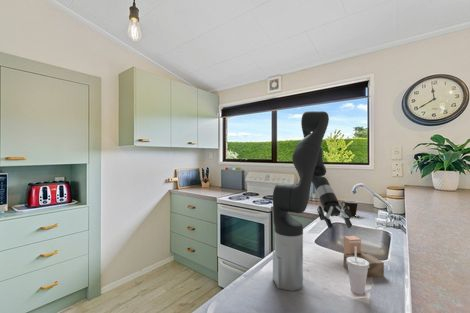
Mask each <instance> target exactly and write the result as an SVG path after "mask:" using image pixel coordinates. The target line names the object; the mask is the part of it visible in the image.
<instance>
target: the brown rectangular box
mask: <svg viewBox="0 0 470 313" xmlns="http://www.w3.org/2000/svg"><path fill="white" fill-rule="evenodd" d="M348 257H355V254H354V253H353V254H344V253H343V268H345V269H346V270H347V271H348V264H347V262H346V261H347V260H346V259H347V258H348ZM357 257H359V258H362V259H365V260H366V261H368V262H369V268H368V272H367V278H374V277H375V278H376V277H384V276H385V274H384V273H385V262H383V261H382V260H380V259H379V258H376V257H375V256H374V255H372V254H370V253H368V252H363V253H358V254H357Z"/></svg>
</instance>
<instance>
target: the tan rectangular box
mask: <svg viewBox="0 0 470 313" xmlns="http://www.w3.org/2000/svg"><path fill="white" fill-rule="evenodd" d="M355 246H356V247H357V254H358V253H361V252H362V248H361V247H362V240H361V238H360V237H358V236H355V235H344V236H343V255H344V254H353V253H354V254H355Z"/></svg>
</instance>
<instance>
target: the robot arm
mask: <svg viewBox="0 0 470 313" xmlns="http://www.w3.org/2000/svg"><path fill="white" fill-rule="evenodd" d="M329 117H330V116H329V113H328V112H326V111H323V110H307V111H303V114H302V115H301V120H300V121H301V122H300V124H301V131H302V135H303V138H302V139H300V140H299V142H298V143H297V144H296V146H295V149H294V151H293V154H292V158H291V159H292V164H293V166H294V168H295V170H296V171H297V173H298V176H299V181H298V183H297V184H290V183H277V184H275V186H274V188H273V192H272V209H273V210H272V212H273V224H274V251H273V252H272V280H273V282H274V283H275V286H276V288H277V289H279V290H280V289H282V290H285V291H298V290H301V289H302V288H303V286H304V284H303V283H304V274H303V273H304V267H303V266H304V262H303V261H304V257H303V256H304V250H303V249H304V226H303V224H302V223H301V222H300V221H298V220H297V219H295V218H293V217H292V216H291V215H290V214H289V213H295V214H303V213H304V212H305V211H306V209H307V207H308V204H309V198H310V192H311V188H312V187H311V186H312V185H313V186H314V188H315V191H316V194H317V197H318V200H319V202H320V204H321V205H318V207H317V209H316V210H317V213H318V216H319V220H320V221H324V222H325V224H326V226H327V227H328V228H329V229H330V230H331V229H333V228H334V224H333V222H332V220H331V218H330V217H339V218H341V219H342V220H344V223H345V225H346V227H347V228H348V229H351V228H352V222H351V218H352V214H351V212H350V211H349V209H348V207H347V206H346V205H345V204H344V206H343V207H342V205H341V204H340V203H339V200H338V197H337V195H336V194H335V192H334V190H333V188H332V186H331V184H330V183H329V180H328V179H327V178H326V177H325V175H326V174H327V169H326V165H325V164H324V161H323V160H324V159H323V149H322V142H323V139H324V138H325V134H326V132H327V129H328V125H329V122H330V121H329V119H330V118H329ZM324 212H325V213H326V214H324Z"/></svg>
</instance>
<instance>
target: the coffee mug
mask: <svg viewBox="0 0 470 313" xmlns="http://www.w3.org/2000/svg"><path fill="white" fill-rule="evenodd" d="M358 202H359V201H357V200H356V201H355V200H344V201H342V202H341V204H340V206H341V207H343V203H344V206H345V205H346V206H347V207H348V209H349V211H350V212H351V214H352V216H355V215H356V216H357V210H358ZM356 216H355V217H356Z"/></svg>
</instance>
